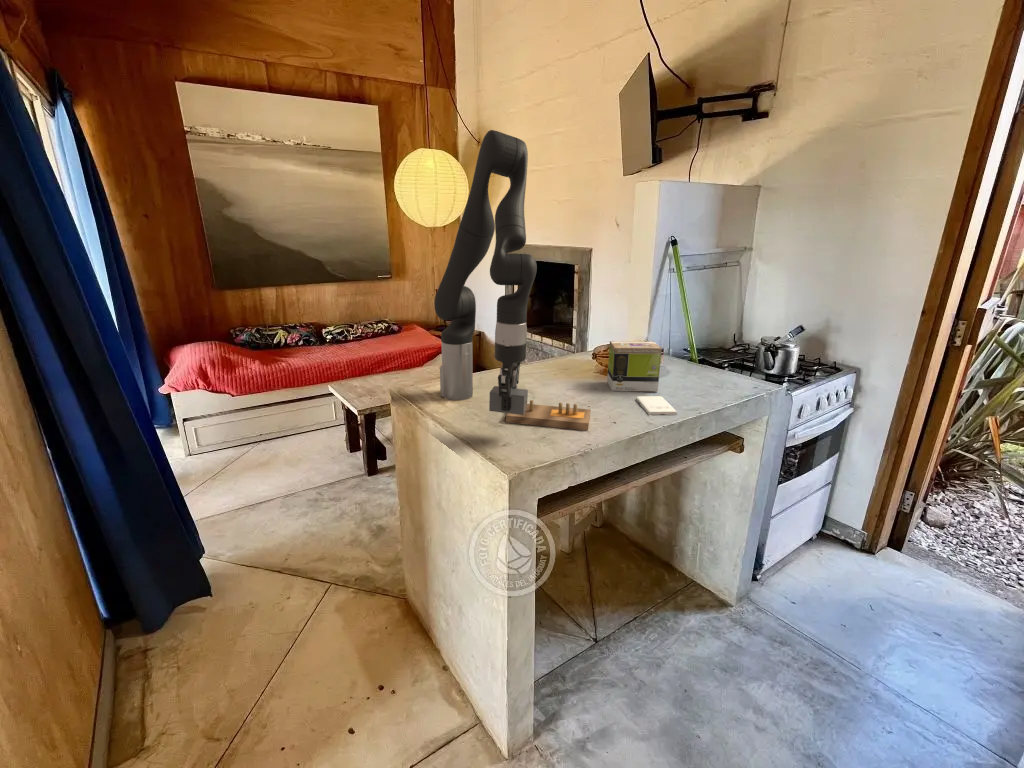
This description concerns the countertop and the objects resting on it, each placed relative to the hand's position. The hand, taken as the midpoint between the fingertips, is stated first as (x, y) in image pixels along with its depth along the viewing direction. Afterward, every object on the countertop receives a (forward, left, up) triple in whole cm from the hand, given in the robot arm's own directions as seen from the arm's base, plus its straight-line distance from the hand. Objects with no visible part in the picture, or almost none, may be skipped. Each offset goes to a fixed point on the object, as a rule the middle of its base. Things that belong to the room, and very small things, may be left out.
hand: (508, 406), depth 123 cm
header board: (+9, +13, -8) cm, 18 cm away
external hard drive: (+38, +30, -9) cm, 50 cm away
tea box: (+32, +47, -8) cm, 58 cm away
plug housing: (0, 0, -1) cm, 1 cm away
